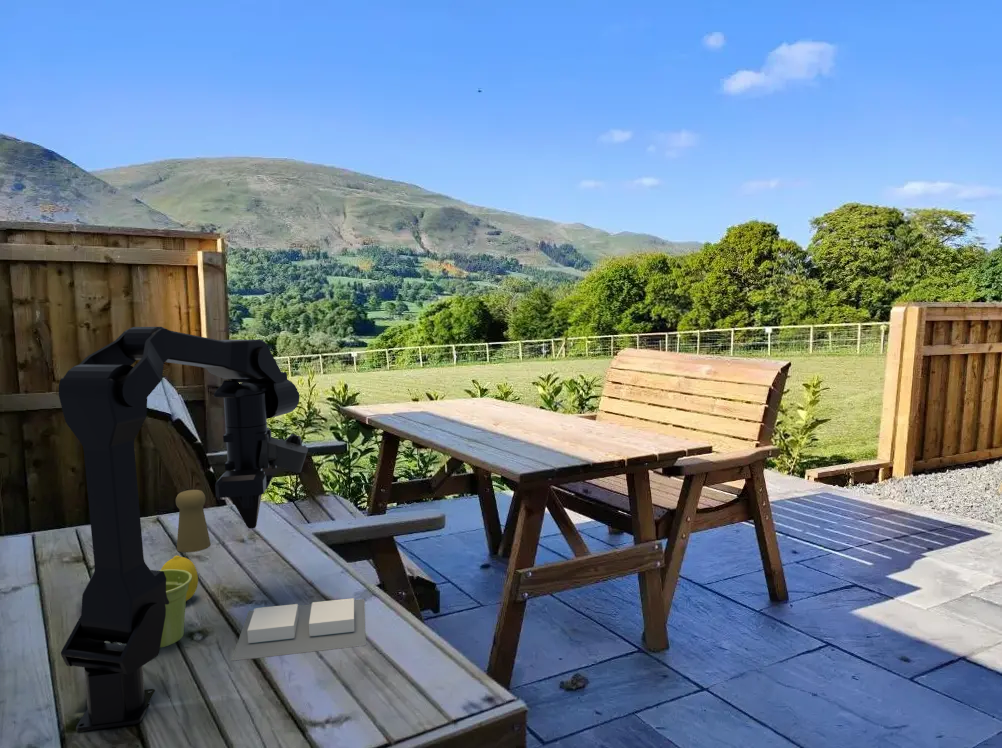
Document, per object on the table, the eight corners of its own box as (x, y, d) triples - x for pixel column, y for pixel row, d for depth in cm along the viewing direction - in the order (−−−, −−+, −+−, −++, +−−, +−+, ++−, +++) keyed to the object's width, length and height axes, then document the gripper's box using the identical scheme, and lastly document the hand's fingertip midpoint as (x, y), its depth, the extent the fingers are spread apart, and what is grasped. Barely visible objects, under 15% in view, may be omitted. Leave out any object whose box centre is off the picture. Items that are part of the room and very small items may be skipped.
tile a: (298, 617, 102) (294, 639, 95) (255, 621, 101) (248, 644, 94) (297, 603, 102) (293, 625, 95) (254, 608, 100) (247, 630, 93)
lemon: (184, 614, 105) (181, 563, 104) (152, 612, 106) (148, 561, 105) (207, 599, 110) (203, 550, 109) (176, 597, 111) (172, 548, 110)
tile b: (354, 611, 103) (354, 632, 96) (312, 615, 102) (309, 637, 95) (353, 598, 103) (353, 618, 96) (312, 602, 102) (308, 623, 95)
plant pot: (112, 664, 90) (106, 600, 90) (129, 631, 99) (125, 573, 99) (189, 653, 93) (185, 591, 92) (200, 622, 102) (196, 565, 101)
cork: (176, 544, 136) (172, 489, 135) (210, 539, 138) (206, 485, 137) (176, 554, 130) (172, 497, 129) (211, 549, 133) (207, 492, 132)
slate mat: (365, 649, 93) (365, 645, 93) (231, 665, 90) (231, 660, 90) (364, 602, 108) (364, 598, 108) (249, 614, 104) (248, 610, 104)
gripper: (297, 433, 95) (303, 543, 97) (307, 412, 113) (311, 505, 115) (211, 437, 93) (218, 551, 94) (234, 415, 111) (240, 511, 113)
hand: (252, 527), depth 104 cm, fingers closed
